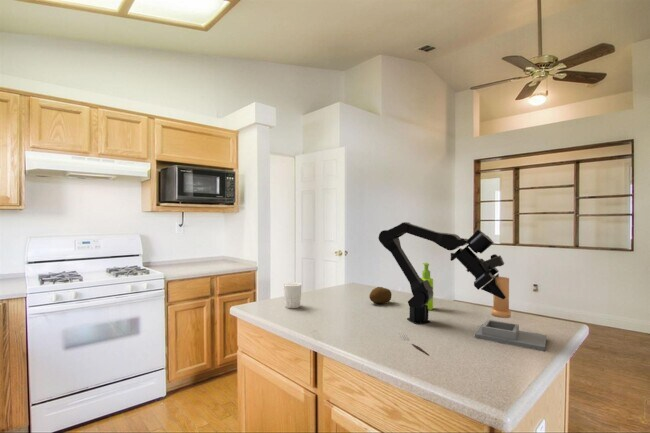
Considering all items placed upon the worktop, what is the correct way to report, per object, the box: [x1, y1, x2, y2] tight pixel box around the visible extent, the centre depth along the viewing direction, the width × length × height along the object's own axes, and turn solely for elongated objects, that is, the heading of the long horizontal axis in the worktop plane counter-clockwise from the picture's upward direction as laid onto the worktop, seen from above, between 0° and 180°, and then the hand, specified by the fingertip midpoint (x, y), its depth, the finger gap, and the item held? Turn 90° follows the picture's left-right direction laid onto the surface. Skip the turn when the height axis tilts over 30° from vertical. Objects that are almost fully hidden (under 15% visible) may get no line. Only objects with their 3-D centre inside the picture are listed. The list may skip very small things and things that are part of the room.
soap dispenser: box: [420, 262, 434, 311], centre depth 154 cm, size 6×7×20 cm
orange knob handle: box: [490, 276, 512, 319], centre depth 119 cm, size 6×6×13 cm
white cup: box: [283, 282, 303, 309], centre depth 156 cm, size 8×8×10 cm
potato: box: [369, 286, 392, 304], centre depth 162 cm, size 8×12×8 cm, turn 130°
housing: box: [474, 319, 547, 352], centre depth 117 cm, size 20×13×4 cm, turn 55°
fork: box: [398, 332, 430, 357], centre depth 109 cm, size 3×16×2 cm, turn 17°
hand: (505, 296), depth 119 cm, fingers closed on orange knob handle, 5 cm apart
